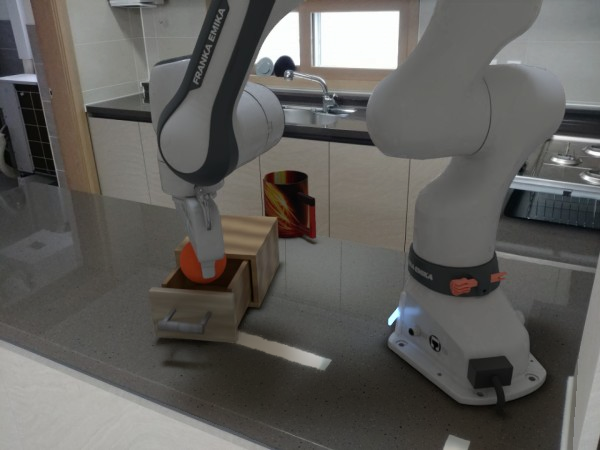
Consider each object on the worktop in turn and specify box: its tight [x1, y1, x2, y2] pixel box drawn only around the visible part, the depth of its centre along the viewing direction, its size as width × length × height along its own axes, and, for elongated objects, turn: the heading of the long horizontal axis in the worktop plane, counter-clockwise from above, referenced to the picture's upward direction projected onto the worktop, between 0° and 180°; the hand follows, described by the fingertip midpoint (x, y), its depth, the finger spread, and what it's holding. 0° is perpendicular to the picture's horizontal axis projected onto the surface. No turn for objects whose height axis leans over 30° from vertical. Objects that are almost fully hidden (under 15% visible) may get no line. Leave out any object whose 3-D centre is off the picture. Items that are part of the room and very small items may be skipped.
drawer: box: [148, 258, 253, 344], centre depth 83 cm, size 19×13×8 cm, turn 170°
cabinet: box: [173, 214, 281, 309], centre depth 95 cm, size 16×14×10 cm
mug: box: [262, 169, 317, 240], centre depth 115 cm, size 10×14×12 cm
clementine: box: [180, 242, 226, 284], centre depth 81 cm, size 8×7×7 cm
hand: (202, 261), depth 81 cm, fingers closed on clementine, 8 cm apart
